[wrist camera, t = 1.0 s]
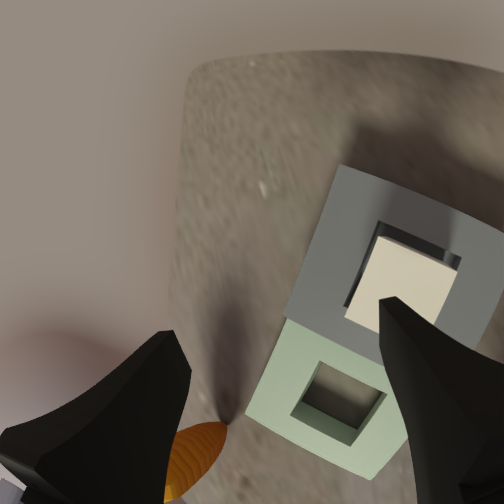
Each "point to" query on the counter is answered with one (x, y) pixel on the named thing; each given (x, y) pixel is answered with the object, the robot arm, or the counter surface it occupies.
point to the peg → (400, 282)
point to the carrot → (193, 456)
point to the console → (357, 336)
